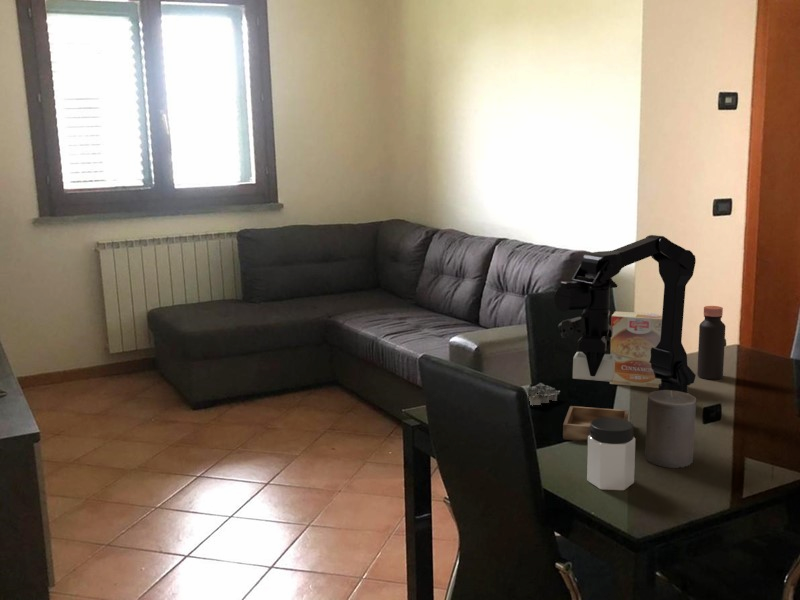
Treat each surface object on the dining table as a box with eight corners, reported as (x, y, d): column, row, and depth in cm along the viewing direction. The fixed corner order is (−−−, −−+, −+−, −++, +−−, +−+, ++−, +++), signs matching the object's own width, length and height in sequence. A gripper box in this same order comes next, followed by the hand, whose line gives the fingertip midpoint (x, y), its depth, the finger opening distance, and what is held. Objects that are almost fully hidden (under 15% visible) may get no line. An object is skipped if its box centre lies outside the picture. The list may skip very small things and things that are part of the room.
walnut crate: (628, 424, 188) (628, 410, 187) (625, 444, 175) (625, 429, 175) (569, 419, 192) (570, 405, 192) (562, 439, 179) (563, 424, 179)
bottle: (726, 379, 221) (730, 309, 217) (702, 380, 221) (705, 310, 218) (717, 373, 228) (720, 304, 224) (693, 373, 228) (696, 305, 224)
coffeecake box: (609, 384, 220) (610, 315, 216) (612, 377, 226) (614, 310, 223) (665, 389, 214) (668, 318, 211) (668, 382, 221) (670, 313, 217)
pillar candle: (635, 458, 168) (637, 390, 165) (662, 446, 173) (665, 381, 170) (675, 472, 160) (679, 401, 157) (703, 460, 166) (707, 391, 163)
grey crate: (614, 375, 189) (615, 354, 188) (612, 381, 183) (612, 360, 182) (576, 371, 192) (576, 351, 191) (572, 378, 186) (573, 357, 185)
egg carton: (534, 410, 201) (534, 395, 200) (512, 403, 207) (512, 388, 206) (562, 401, 207) (562, 386, 206) (541, 394, 213) (541, 380, 212)
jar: (601, 469, 162) (602, 413, 160) (639, 479, 157) (641, 421, 155) (580, 484, 155) (581, 426, 153) (619, 495, 150) (621, 434, 148)
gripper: (567, 299, 196) (565, 360, 199) (555, 313, 179) (553, 380, 181) (613, 301, 192) (611, 364, 195) (606, 315, 175) (603, 384, 178)
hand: (594, 372), depth 187 cm, fingers closed on grey crate, 6 cm apart
